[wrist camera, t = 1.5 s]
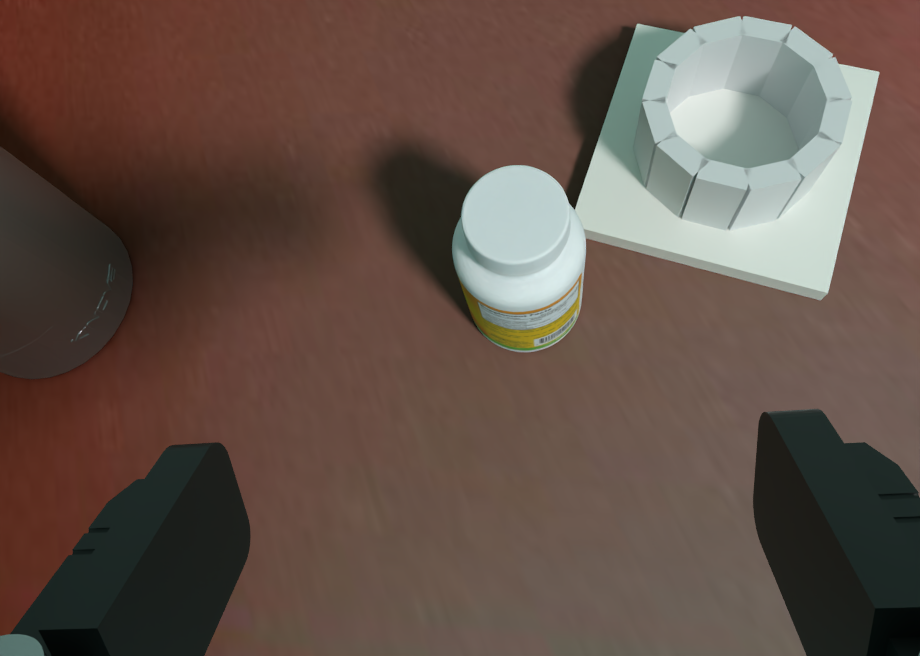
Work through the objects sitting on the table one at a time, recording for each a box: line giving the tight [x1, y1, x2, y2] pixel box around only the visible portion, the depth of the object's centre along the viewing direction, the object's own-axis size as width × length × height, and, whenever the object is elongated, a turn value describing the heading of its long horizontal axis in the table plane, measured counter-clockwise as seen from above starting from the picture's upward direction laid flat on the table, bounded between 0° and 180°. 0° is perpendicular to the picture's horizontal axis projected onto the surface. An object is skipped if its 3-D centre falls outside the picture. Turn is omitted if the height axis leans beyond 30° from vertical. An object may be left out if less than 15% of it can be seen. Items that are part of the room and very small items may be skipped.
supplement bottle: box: [452, 165, 586, 352], centre depth 32 cm, size 5×5×10 cm
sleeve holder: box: [575, 16, 879, 300], centre depth 35 cm, size 12×12×5 cm
